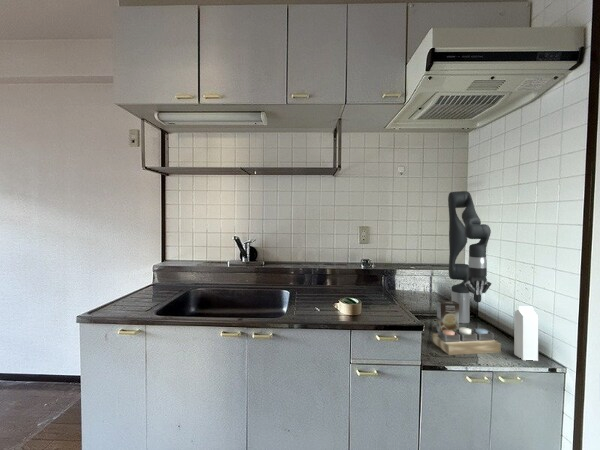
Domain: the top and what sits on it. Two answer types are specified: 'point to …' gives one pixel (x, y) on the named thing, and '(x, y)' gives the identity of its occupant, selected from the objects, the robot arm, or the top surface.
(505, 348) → the top surface
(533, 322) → the milk
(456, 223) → the robot arm
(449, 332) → the terracotta button
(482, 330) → the slate blue button
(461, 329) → the cream button
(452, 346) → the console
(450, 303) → the coffee box
